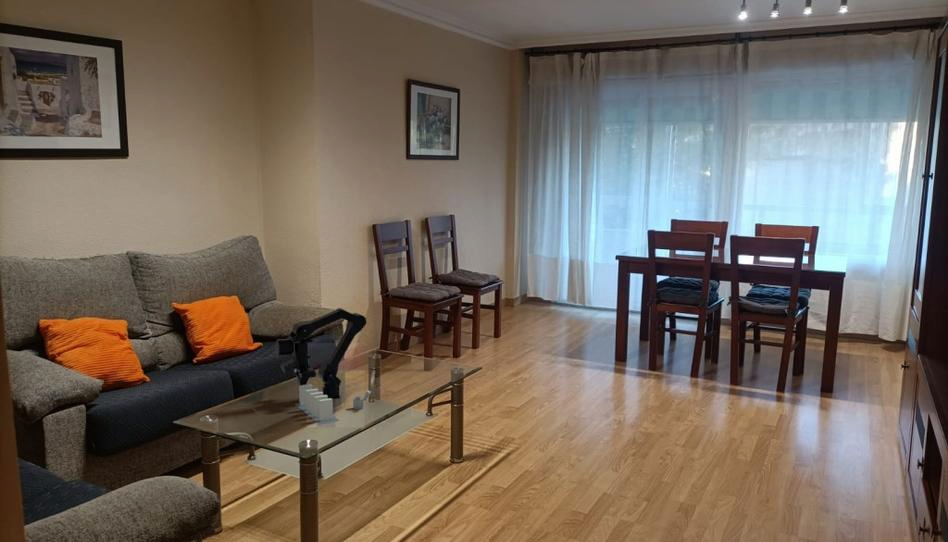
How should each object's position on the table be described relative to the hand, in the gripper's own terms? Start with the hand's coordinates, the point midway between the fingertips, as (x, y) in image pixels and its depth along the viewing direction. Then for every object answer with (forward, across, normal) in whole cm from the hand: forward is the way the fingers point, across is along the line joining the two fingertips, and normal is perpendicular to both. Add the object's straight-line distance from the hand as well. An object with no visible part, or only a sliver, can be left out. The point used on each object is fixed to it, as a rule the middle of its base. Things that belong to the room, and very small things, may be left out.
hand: (302, 389), depth 297 cm
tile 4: (+5, +27, 0) cm, 28 cm away
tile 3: (+5, +22, 0) cm, 23 cm away
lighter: (+6, +22, +18) cm, 29 cm away
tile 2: (+5, +17, 0) cm, 18 cm away
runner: (+6, +16, 0) cm, 17 cm away
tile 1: (+5, +12, 0) cm, 13 cm away
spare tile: (+5, +4, 0) cm, 7 cm away
